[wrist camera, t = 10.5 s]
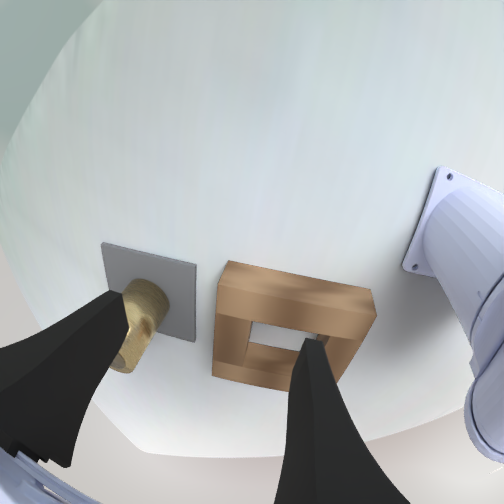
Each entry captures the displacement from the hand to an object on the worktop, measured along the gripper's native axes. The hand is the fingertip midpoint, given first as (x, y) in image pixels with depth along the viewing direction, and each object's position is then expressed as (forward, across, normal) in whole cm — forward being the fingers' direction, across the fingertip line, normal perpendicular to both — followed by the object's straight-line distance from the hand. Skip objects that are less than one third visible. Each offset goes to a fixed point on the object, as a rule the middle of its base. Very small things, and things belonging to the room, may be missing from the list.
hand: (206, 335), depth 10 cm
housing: (+10, -4, +9) cm, 14 cm away
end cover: (+10, +8, +9) cm, 16 cm away
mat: (+10, +8, +9) cm, 16 cm away
